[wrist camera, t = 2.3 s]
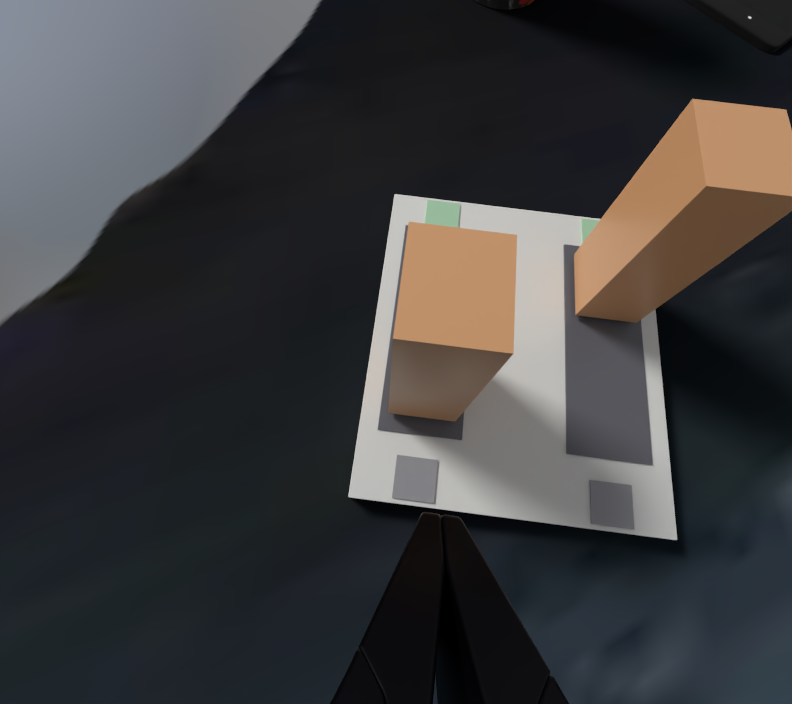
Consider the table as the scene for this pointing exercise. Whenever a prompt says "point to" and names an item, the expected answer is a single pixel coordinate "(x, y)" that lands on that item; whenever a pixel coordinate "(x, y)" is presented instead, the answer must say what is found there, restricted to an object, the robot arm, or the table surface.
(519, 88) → the table surface
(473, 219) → the switch bank
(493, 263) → the tab
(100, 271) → the table surface
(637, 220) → the tab
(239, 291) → the table surface
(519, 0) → the deodorant
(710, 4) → the cell phone
